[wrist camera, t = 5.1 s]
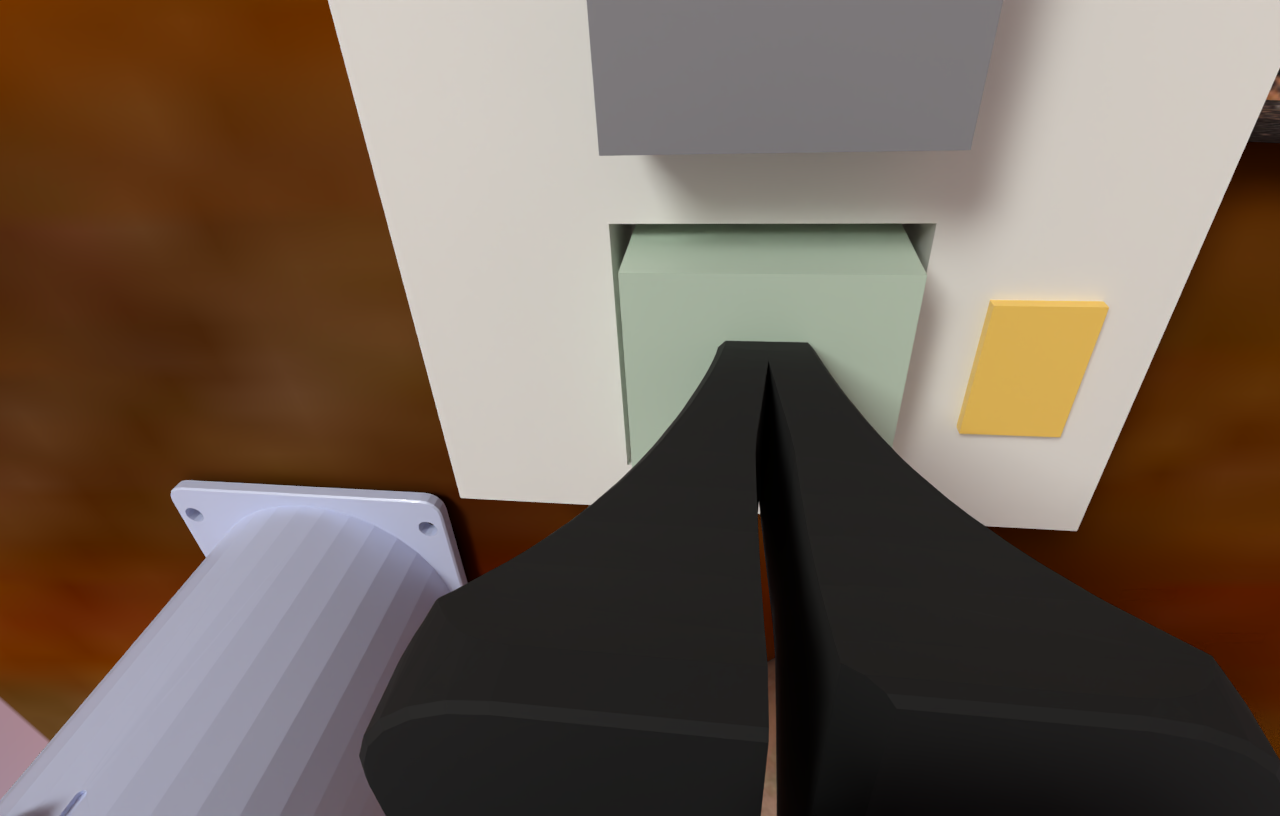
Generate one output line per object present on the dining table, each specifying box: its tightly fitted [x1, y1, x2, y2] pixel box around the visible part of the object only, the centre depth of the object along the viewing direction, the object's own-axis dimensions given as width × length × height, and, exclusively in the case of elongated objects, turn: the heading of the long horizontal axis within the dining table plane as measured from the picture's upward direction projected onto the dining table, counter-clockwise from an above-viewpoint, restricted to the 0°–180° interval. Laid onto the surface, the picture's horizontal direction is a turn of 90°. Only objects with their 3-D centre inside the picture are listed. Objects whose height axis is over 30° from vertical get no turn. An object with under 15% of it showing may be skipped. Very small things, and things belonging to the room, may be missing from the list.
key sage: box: [618, 223, 927, 468], centre depth 12 cm, size 4×4×2 cm
